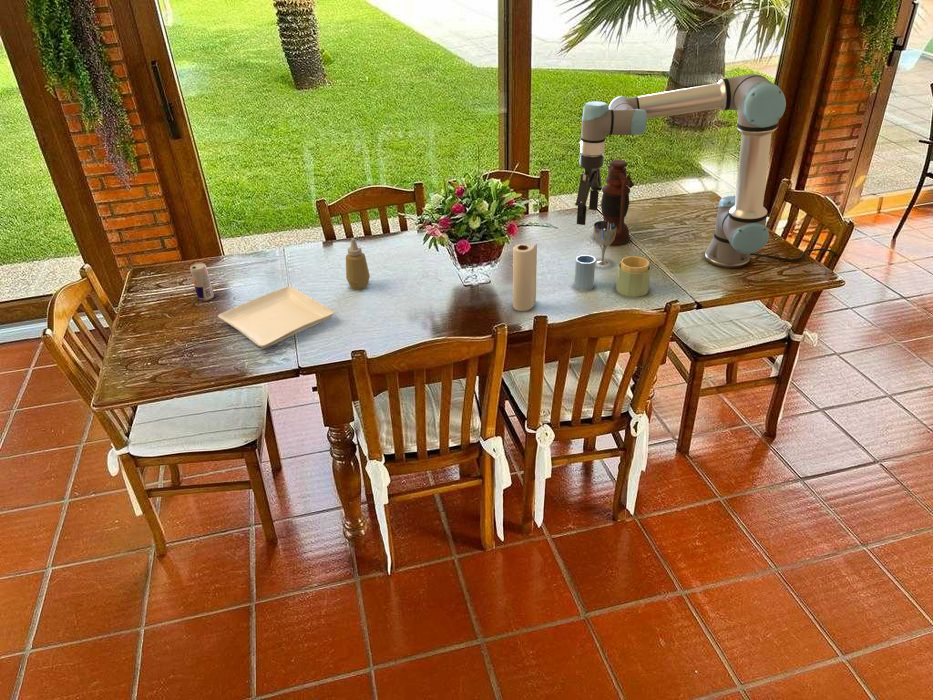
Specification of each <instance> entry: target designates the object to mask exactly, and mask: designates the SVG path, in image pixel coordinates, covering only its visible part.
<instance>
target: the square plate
mask: <svg viewBox="0 0 933 700" xmlns="http://www.w3.org/2000/svg"><path fill="white" fill-rule="evenodd" d="M333 315H335V311H334V310H332V309H330V308H329V307H327V306H326V305H324V304H322V303H320V302H319V301H317V300H315V299H314V298H311V297H310V296H308V295H306V294H305V293H303V292H301V291H300V290H299V289H296V288H294V287H292V286H290V285H288V286H285V287H282V288H279V289H277V290H274V291H272V292H269V293H266V294H264V295H261V296H259V297H256V298H253V299H252V300H249V301H247V302H244V303H242V304H239V305H237V306H235V307H232V308H230V309H227V310H226V311H223V312H221V313H219V314H217V317H218V318H219V319H220V320H222V321H223V322H225V323H226V324H227V325H229V326H230V327H232V328H234V329H235V330H236V331H238V332H239V333H241V334H242V335H243V336H245V337H246V338H247V339H248V340H250V341H251V342H252V343H253V344H255V345H256V346H258V347H259V348H261V349H266V348H270V347H271V346H273V345H275V344H278V343H280V342H282V341H284V340H286V339H288V338H290V337H292V336H295V335H296V334H300V333H301V332H304V331H305V330H308V329H310V328H312V327H315V326H316V325H319V324H321V323H324V322H325V321H327V320H329V319H330V318H332V316H333Z"/></svg>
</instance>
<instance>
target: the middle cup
mask: <svg viewBox="0 0 933 700" xmlns="http://www.w3.org/2000/svg"><path fill="white" fill-rule="evenodd" d="M620 262H621V269H622V270H624V271H626V272H629V273H644V272H647V271H648V267H649V264H650V261H649V260H648V259H647V258H645V257H642V256H637V255H636V256H635V255H631V256H625V257H623V258H622V259H621V261H620Z"/></svg>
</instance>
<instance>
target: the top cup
mask: <svg viewBox="0 0 933 700" xmlns="http://www.w3.org/2000/svg"><path fill="white" fill-rule="evenodd" d="M596 260H597V259H596V258H595V256H593V255H588V254H582V255H578V256H577V257H576V258H575V268H574V287H575V289H577V290H581V291H589V290H592V289H594V286H595V275H596V263H597V262H596Z"/></svg>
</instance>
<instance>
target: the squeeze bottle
mask: <svg viewBox="0 0 933 700" xmlns="http://www.w3.org/2000/svg"><path fill="white" fill-rule="evenodd" d="M345 272H346V273H345V274H346V275H345V277H346V280H347V283H348V284H349V286H350V288H351V289H352V290H355V291H360V290H364V289H366V288H368V286H369V281H370V277H371V275H370V271H369V267H368V262H367V258H366V254H365V253H364V252H363V250H362V247H361V246H359V245H358V244H357V241H356V238H355V237H353V238H351V240H350V247H348V248H347V254H346V256H345Z"/></svg>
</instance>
